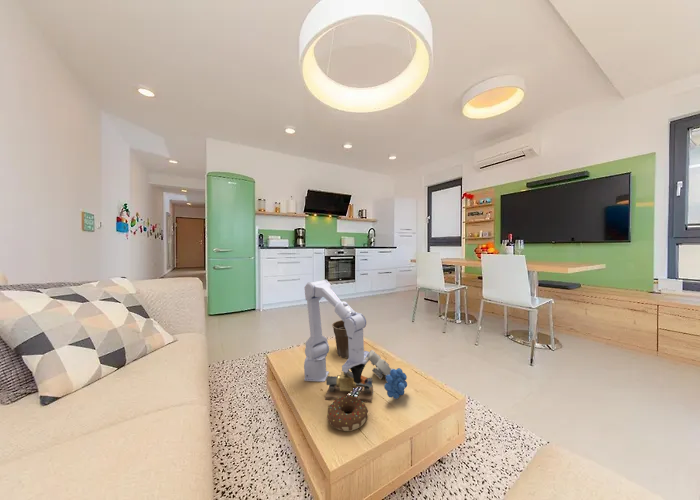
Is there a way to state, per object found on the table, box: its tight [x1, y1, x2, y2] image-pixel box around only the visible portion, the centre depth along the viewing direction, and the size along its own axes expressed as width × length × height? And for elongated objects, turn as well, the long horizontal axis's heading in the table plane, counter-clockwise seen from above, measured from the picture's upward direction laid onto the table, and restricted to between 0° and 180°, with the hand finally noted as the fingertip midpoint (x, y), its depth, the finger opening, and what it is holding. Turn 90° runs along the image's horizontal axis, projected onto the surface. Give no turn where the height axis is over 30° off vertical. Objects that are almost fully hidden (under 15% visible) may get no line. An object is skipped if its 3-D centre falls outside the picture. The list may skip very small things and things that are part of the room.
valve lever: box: [344, 369, 369, 385], centre depth 97 cm, size 11×2×2 cm, turn 47°
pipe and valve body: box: [325, 371, 373, 394], centre depth 100 cm, size 18×5×6 cm, turn 82°
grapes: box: [383, 368, 408, 400], centre depth 95 cm, size 12×7×12 cm, turn 126°
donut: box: [326, 396, 369, 432], centre depth 86 cm, size 14×14×5 cm
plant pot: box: [331, 319, 349, 359], centre depth 136 cm, size 16×16×16 cm
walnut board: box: [324, 384, 374, 403], centre depth 100 cm, size 18×9×1 cm, turn 82°
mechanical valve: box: [365, 349, 393, 380], centre depth 109 cm, size 10×18×15 cm
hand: (357, 382), depth 94 cm, fingers closed, pressing on valve lever
